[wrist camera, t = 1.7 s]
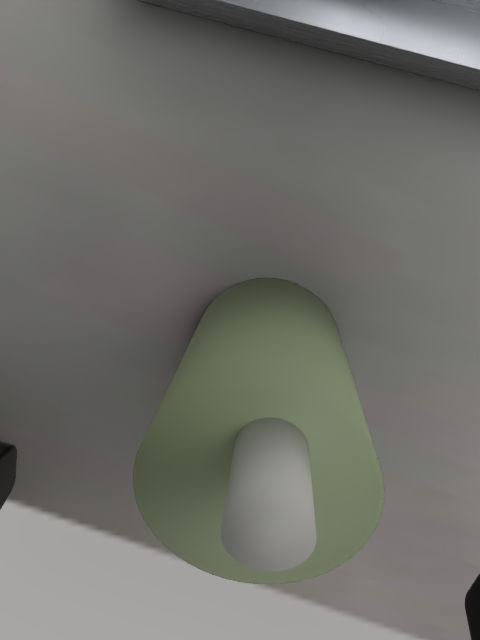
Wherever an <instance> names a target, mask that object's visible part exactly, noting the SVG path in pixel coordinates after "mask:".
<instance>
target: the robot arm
mask: <svg viewBox="0 0 480 640" xmlns="http://www.w3.org/2000/svg"><path fill="white" fill-rule="evenodd" d="M16 459H17V449H16V447H15V446H14V445H13V444H9V443H5V442H2V441H0V509H1V508H2V506H3V504H4V503H5V501H6V499H7V497H8V496H9V494H10V492H11V490H12V488H13V486H14V483H15V478H16ZM465 610H466V615H467V620H468V625H469V630H470V635H471V640H480V574H479V575H478V577H477V578H476V580H475V581H474V583H473V584H472V586H471V587H470V589H469V590H468V592H467V594H466V597H465Z"/></svg>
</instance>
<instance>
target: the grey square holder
mask: <svg viewBox="0 0 480 640" xmlns="http://www.w3.org/2000/svg"><path fill="white" fill-rule="evenodd" d="M139 1H142V2H146V3H150V4H154V5H158V6H161V7H165V8H169V9H173V10H177V11H180V12H184V13H188V14H192V15H195V16H199V17H203V18H207V19H211V20H214V21H218V22H222V23H226V24H230V25H233V26H237V27H241V28H245V29H248V30H252V31H256V32H260V33H264V34H267V35H271V36H275V37H279V38H283V39H286V40H290V41H294V42H298V43H301V44H305V45H309V46H313V47H317V48H320V49H324V50H328V51H332V52H336V53H339V54H343V55H347V56H351V57H354V58H358V59H362V60H366V61H370V62H373V63H377V64H381V65H385V66H389V67H392V68H396V69H400V70H404V71H407V72H411V73H415V74H419V75H423V76H426V77H430V78H434V79H438V80H442V81H445V82H449V83H453V84H457V85H460V86H464V87H468V88H472V89H476V90H479V91H480V0H139Z"/></svg>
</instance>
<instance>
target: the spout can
mask: <svg viewBox="0 0 480 640" xmlns="http://www.w3.org/2000/svg"><path fill="white" fill-rule="evenodd" d="M133 486H134V493H135V497H136V502H137V504H138V507H139V510H140V512H141V515H142V516H143V518H144V520H145V522H146V523H147V525H148V527H149V528H150V529H151V531H152V532H153V533H154V535H155V536H156V537H157V538H158V539H159V540H160V541H161V542H162V543H163V544H164V545H165V546H166V547H167V548H168V549H169V550H170V551H172V552H173V553H174V554H175V555H177V556H178V557H180V558H181V559H183V560H184V561H186V562H187V563H189V564H191V565H193V566H195V567H196V568H198V569H200V570H203V571H205V572H208V573H210V574H212V575H216V576H219V577H222V578H225V579H229V580H234V581H238V582H244V583H253V584H282V583H290V582H296V581H302V580H305V579H309V578H313V577H316V576H318V575H321V574H323V573H326V572H328V571H330V570H332V569H334V568H336V567H338V566H340V565H341V564H343V563H344V562H345V561H347V560H348V559H350V558H351V557H352V556H353V555H355V554H356V553H357V552H358V551H359V550H360V549H361V548H362V547H363V546H364V544H365V543H366V542H367V541H368V540H369V538H370V537H371V535H372V534H373V532H374V530H375V529H376V527H377V524H378V522H379V519H380V517H381V514H382V509H383V505H384V490H385V488H384V481H383V474H382V471H381V468H380V465H379V461H378V458H377V455H376V452H375V448H374V445H373V442H372V439H371V436H370V432H369V429H368V426H367V423H366V419H365V416H364V413H363V410H362V406H361V403H360V400H359V397H358V393H357V390H356V387H355V384H354V380H353V377H352V374H351V371H350V367H349V364H348V361H347V358H346V354H345V351H344V348H343V345H342V341H341V338H340V335H339V332H338V328H337V325H336V322H335V320H334V318H333V316H332V314H331V312H330V311H329V309H328V308H327V306H326V305H325V304H324V303H323V302H322V301H321V299H319V298H318V297H317V296H316V295H315V294H314V293H312V292H311V291H309V290H308V289H306V288H304V287H302V286H300V285H298V284H296V283H293V282H290V281H287V280H282V279H277V278H257V279H251V280H247V281H244V282H241V283H238V284H236V285H234V286H231V287H229V288H228V289H226V290H225V291H223V292H222V293H221V294H219V295H218V296H217V297H216V298H215V299H214V300H213V301H212V302H211V303H210V305H209V306H208V307H207V309H206V310H205V312H204V314H203V316H202V318H201V320H200V322H199V324H198V326H197V328H196V331H195V333H194V335H193V337H192V339H191V341H190V343H189V345H188V347H187V349H186V351H185V354H184V356H183V358H182V360H181V362H180V364H179V366H178V368H177V370H176V372H175V374H174V377H173V379H172V381H171V383H170V385H169V387H168V389H167V391H166V393H165V395H164V397H163V400H162V402H161V404H160V406H159V408H158V410H157V412H156V414H155V416H154V418H153V420H152V423H151V425H150V427H149V429H148V431H147V433H146V435H145V437H144V439H143V441H142V444H141V446H140V448H139V450H138V452H137V456H136V460H135V463H134V472H133Z"/></svg>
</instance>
